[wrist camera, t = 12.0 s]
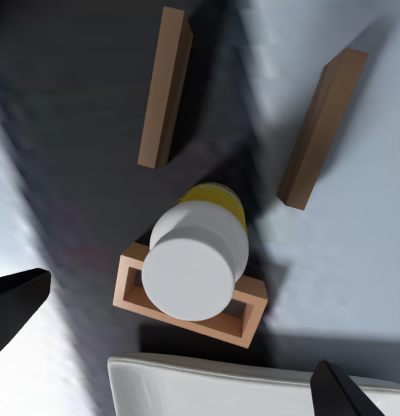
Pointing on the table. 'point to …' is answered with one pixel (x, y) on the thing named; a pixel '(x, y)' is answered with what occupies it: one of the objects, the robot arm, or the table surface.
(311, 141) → the walled lane
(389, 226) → the table surface
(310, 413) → the square plate
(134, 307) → the trap pit
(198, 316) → the supplement bottle
